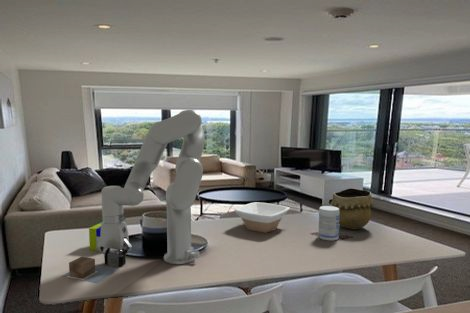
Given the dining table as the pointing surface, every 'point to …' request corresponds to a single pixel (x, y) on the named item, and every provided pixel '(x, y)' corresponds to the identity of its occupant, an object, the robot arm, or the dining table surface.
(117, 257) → the grey cube
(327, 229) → the supplement tub
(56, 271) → the dining table surface
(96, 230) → the puzzle toy
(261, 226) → the bowl
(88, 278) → the board
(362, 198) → the clay pot
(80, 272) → the walnut block
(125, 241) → the robot arm
